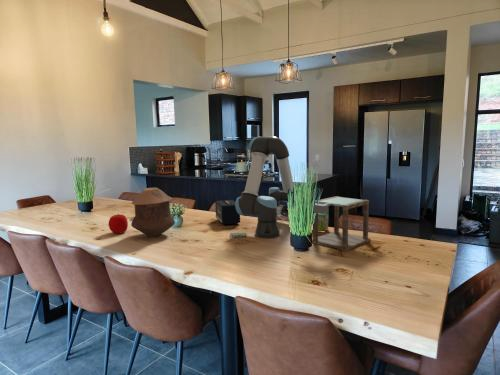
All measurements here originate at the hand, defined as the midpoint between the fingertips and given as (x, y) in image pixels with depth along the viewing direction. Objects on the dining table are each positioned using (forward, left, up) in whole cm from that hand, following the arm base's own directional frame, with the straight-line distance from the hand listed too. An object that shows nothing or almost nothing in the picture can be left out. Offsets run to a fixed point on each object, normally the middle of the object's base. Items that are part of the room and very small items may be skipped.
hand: (308, 215), depth 223 cm
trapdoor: (-21, -32, +13) cm, 40 cm away
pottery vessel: (-81, +58, -9) cm, 100 cm away
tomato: (-94, +81, -9) cm, 124 cm away
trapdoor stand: (-13, -32, -8) cm, 35 cm away
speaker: (-27, +52, -9) cm, 59 cm away
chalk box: (-1, -9, -9) cm, 13 cm away
